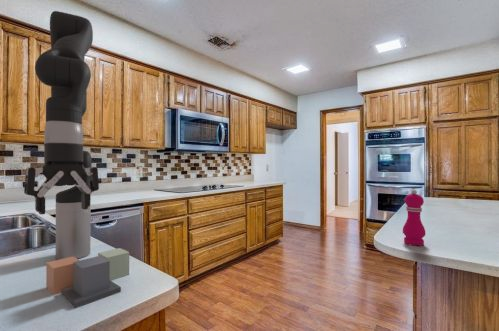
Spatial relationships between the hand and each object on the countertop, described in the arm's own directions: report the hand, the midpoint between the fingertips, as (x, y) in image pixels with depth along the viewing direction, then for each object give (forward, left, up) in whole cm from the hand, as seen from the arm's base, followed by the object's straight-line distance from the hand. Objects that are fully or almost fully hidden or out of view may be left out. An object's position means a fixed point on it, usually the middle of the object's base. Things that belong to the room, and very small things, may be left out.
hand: (64, 211), depth 63 cm
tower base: (+8, +3, -18) cm, 20 cm away
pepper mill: (+58, +94, -18) cm, 112 cm away
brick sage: (+2, +11, -18) cm, 21 cm away
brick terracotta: (0, 0, -18) cm, 18 cm away
